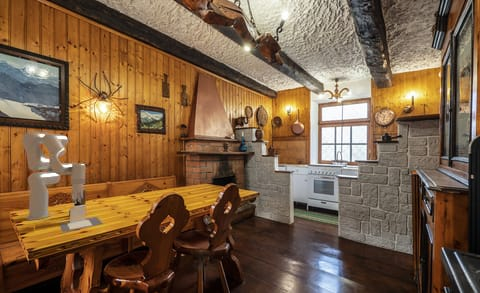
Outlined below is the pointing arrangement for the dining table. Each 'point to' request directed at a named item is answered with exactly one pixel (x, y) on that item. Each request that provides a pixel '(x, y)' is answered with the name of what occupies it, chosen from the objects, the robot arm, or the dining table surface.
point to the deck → (77, 213)
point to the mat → (80, 224)
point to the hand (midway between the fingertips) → (77, 209)
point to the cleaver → (82, 200)
